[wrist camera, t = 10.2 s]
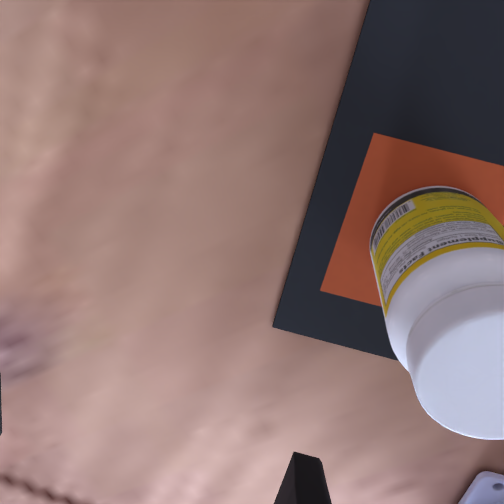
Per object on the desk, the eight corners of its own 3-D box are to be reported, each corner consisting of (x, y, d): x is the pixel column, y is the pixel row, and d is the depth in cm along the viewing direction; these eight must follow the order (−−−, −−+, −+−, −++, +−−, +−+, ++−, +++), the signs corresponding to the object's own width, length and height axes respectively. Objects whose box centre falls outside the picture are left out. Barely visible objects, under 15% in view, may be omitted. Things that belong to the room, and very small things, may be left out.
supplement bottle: (491, 286, 20) (597, 452, 12) (373, 296, 20) (403, 456, 13) (495, 173, 18) (624, 288, 10) (363, 190, 18) (392, 306, 11)
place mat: (873, -276, 12) (882, -281, 12) (484, 381, 22) (486, 384, 22) (481, -369, 12) (483, -375, 12) (272, 324, 22) (272, 327, 22)
